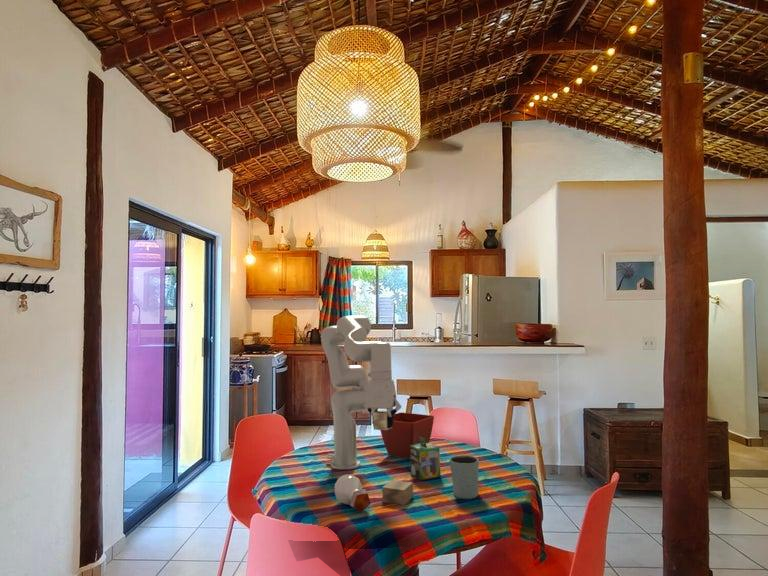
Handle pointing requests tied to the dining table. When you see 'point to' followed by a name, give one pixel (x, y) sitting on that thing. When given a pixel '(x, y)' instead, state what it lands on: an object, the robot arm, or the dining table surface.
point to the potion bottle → (351, 492)
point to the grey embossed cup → (465, 476)
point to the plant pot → (406, 433)
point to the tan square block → (397, 492)
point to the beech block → (380, 420)
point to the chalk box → (425, 460)
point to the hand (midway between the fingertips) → (382, 426)
